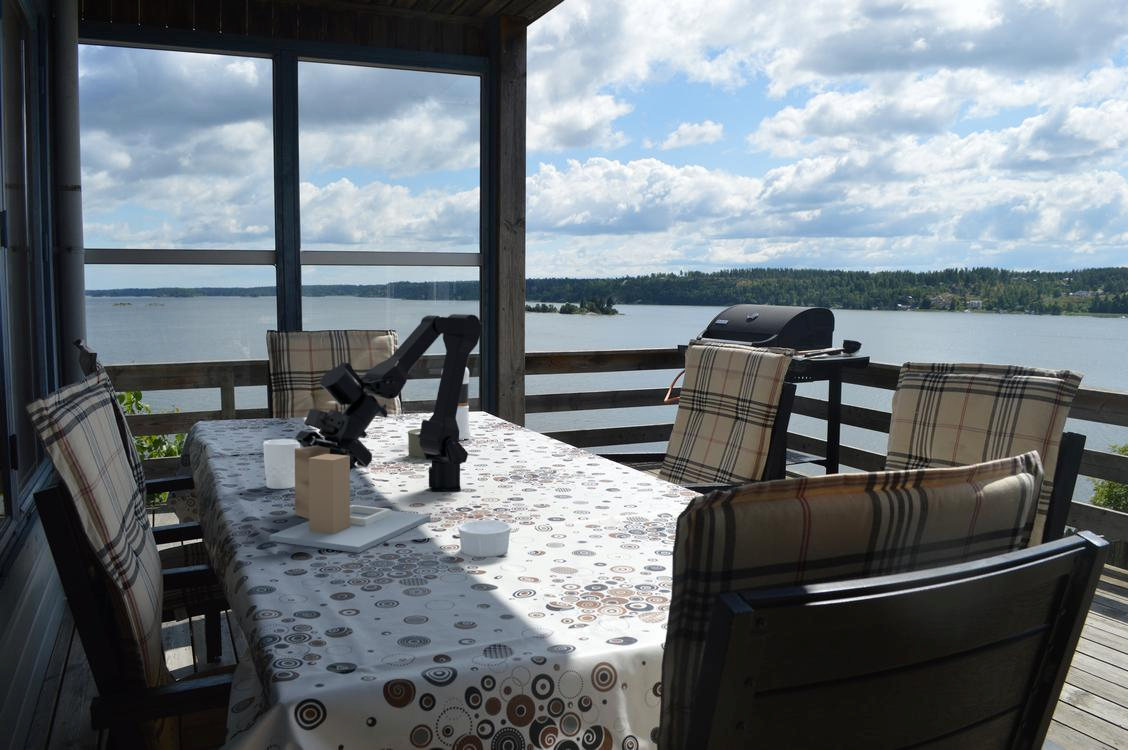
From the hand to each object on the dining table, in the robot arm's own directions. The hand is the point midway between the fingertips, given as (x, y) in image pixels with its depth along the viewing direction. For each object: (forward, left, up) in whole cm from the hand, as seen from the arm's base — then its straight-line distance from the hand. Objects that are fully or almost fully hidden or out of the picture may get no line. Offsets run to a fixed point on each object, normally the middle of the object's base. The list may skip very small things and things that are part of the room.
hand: (307, 482), depth 169 cm
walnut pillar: (-1, -1, -7) cm, 7 cm away
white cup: (+9, -29, -7) cm, 31 cm away
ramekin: (-32, +27, -7) cm, 43 cm away
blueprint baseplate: (-10, +12, -7) cm, 16 cm away
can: (-24, -65, -7) cm, 70 cm away
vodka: (-32, -95, -7) cm, 100 cm away
